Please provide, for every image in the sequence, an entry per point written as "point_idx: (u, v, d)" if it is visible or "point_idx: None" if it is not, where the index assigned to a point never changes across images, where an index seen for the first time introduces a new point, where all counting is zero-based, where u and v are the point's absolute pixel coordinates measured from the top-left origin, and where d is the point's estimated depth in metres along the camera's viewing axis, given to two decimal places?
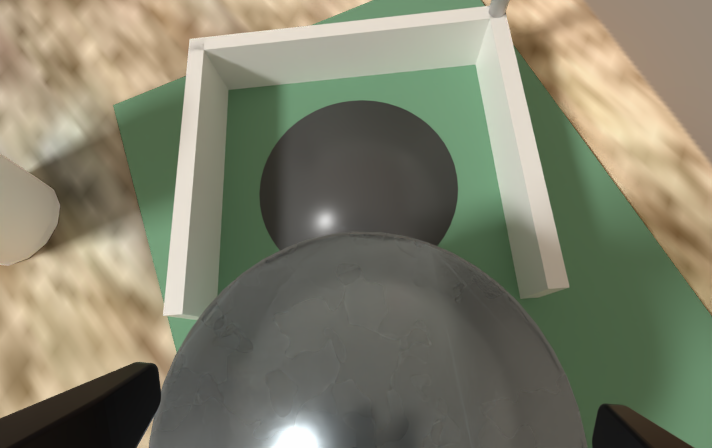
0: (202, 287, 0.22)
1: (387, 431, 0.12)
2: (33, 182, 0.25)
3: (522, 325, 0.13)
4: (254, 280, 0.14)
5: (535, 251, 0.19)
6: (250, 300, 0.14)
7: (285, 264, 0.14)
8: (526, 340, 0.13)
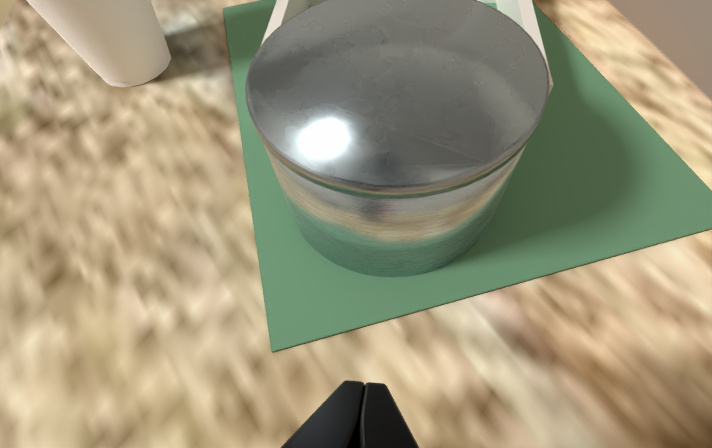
0: None
1: (412, 64, 0.18)
2: (161, 30, 0.34)
3: (510, 26, 0.19)
4: (332, 3, 0.21)
5: None
6: (328, 11, 0.21)
7: None
8: (512, 31, 0.19)
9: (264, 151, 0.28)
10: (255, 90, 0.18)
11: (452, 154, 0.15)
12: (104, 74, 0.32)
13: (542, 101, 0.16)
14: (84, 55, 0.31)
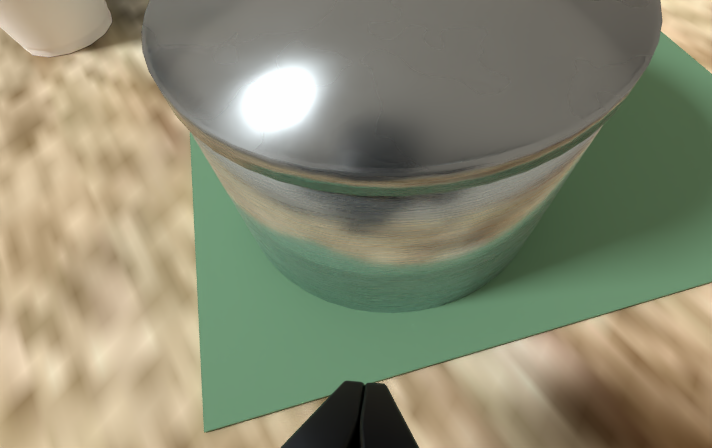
0: None
1: None
2: None
3: None
4: None
5: None
6: None
7: None
8: None
9: None
10: (160, 17, 0.11)
11: (499, 111, 0.08)
12: (19, 39, 0.25)
13: (653, 23, 0.09)
14: None
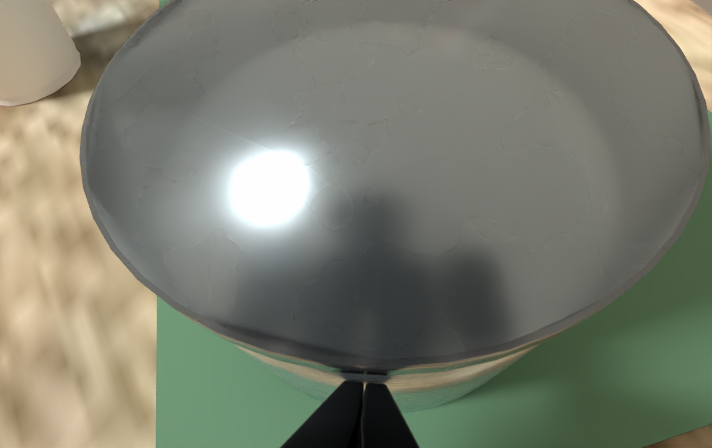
0: None
1: (415, 57, 0.09)
2: (61, 27, 0.24)
3: None
4: None
5: None
6: None
7: None
8: None
9: None
10: (106, 107, 0.09)
11: (511, 269, 0.06)
12: None
13: (699, 136, 0.08)
14: None
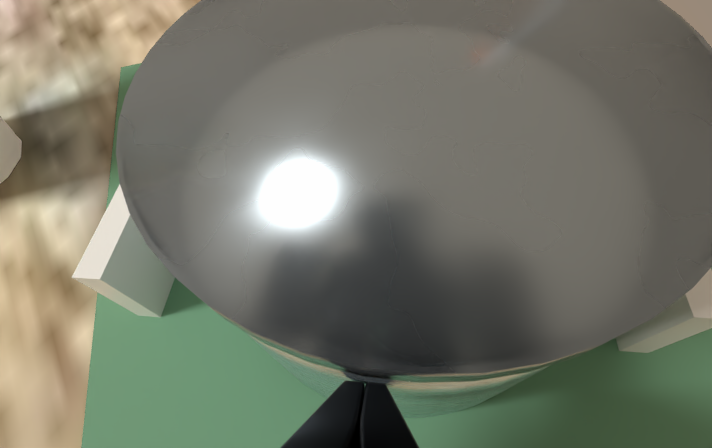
0: (149, 260, 0.15)
1: (450, 62, 0.09)
2: None
3: None
4: None
5: None
6: None
7: None
8: (642, 7, 0.10)
9: (127, 383, 0.15)
10: (142, 103, 0.09)
11: (548, 281, 0.06)
12: None
13: None
14: None
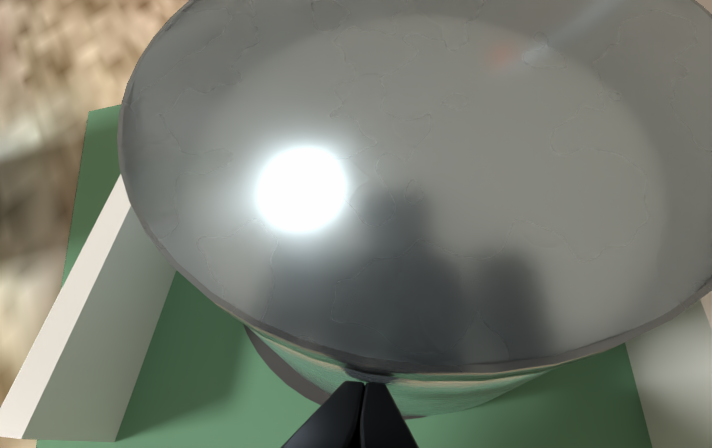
0: (97, 383, 0.12)
1: (460, 52, 0.09)
2: None
3: None
4: None
5: None
6: None
7: None
8: None
9: None
10: (144, 90, 0.09)
11: (561, 278, 0.06)
12: None
13: None
14: None
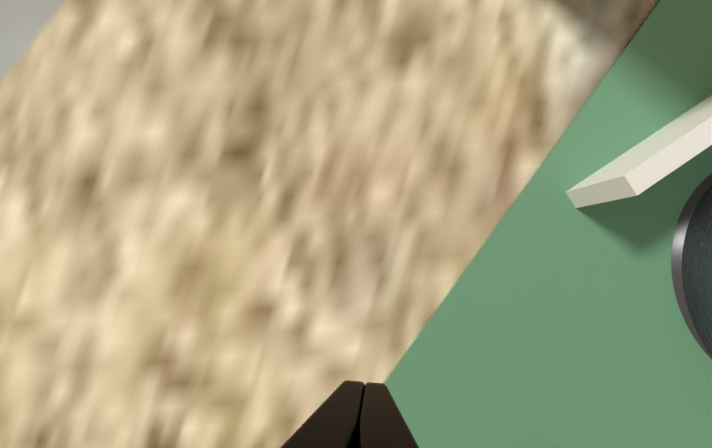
0: None
1: None
2: None
3: None
4: None
5: None
6: None
7: None
8: None
9: (533, 228, 0.20)
10: None
11: None
12: None
13: None
14: None
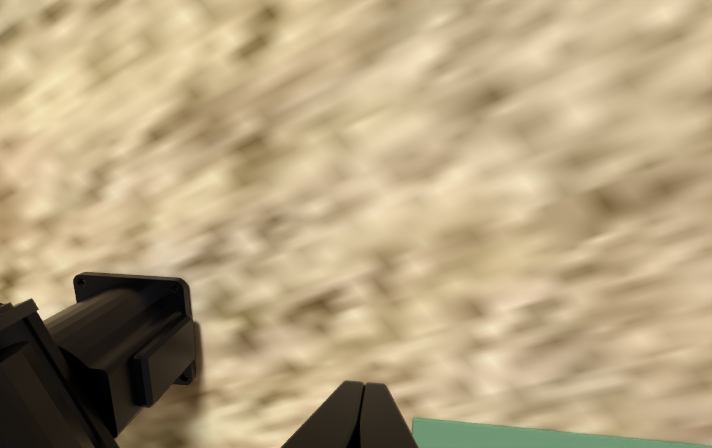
0: None
1: None
2: None
3: None
4: None
5: None
6: None
7: None
8: None
9: None
10: None
11: None
12: None
13: None
14: None
